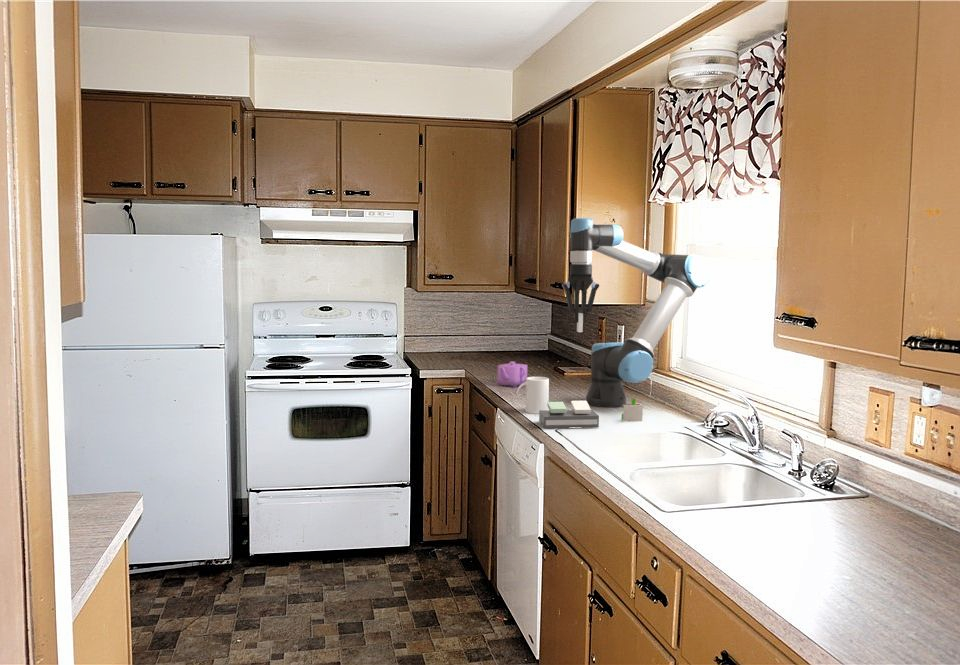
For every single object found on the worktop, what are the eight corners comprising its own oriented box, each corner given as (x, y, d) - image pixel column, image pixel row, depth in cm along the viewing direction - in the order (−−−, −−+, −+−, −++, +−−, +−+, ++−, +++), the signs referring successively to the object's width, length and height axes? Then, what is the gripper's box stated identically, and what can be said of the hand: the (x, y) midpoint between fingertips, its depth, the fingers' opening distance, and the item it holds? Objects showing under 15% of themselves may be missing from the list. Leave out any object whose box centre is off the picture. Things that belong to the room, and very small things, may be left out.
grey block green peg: (619, 420, 278) (619, 397, 277) (637, 419, 279) (638, 396, 278) (623, 422, 274) (623, 399, 273) (642, 422, 275) (642, 398, 274)
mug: (518, 414, 285) (518, 380, 283) (514, 409, 293) (515, 376, 292) (551, 413, 286) (551, 380, 284) (546, 408, 294) (547, 376, 293)
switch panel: (591, 421, 274) (591, 406, 274) (598, 427, 264) (599, 413, 264) (539, 421, 272) (539, 407, 272) (544, 428, 262) (544, 413, 262)
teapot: (512, 390, 331) (512, 365, 330) (484, 386, 339) (484, 362, 338) (535, 384, 346) (535, 360, 345) (508, 380, 354) (508, 357, 353)
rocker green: (562, 405, 271) (562, 401, 271) (566, 412, 264) (566, 408, 264) (547, 405, 271) (547, 401, 270) (550, 413, 264) (551, 408, 263)
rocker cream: (586, 404, 272) (586, 400, 271) (590, 413, 265) (590, 409, 265) (570, 404, 271) (571, 400, 271) (575, 413, 265) (575, 409, 264)
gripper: (597, 263, 282) (595, 330, 285) (560, 263, 281) (559, 330, 284) (602, 263, 275) (600, 332, 277) (564, 263, 274) (563, 333, 276)
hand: (579, 331), depth 281 cm, fingers closed
